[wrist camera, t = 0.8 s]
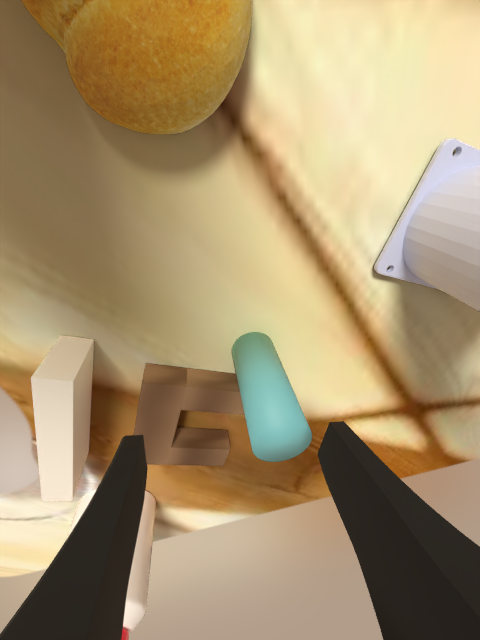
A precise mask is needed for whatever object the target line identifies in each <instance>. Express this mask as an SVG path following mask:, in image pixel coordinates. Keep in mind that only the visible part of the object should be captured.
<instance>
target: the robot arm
mask: <svg viewBox="0 0 480 640" xmlns="http://www.w3.org/2000/svg"><path fill="white" fill-rule="evenodd" d="M455 148H456V152H455V154H454V155H453V151H454V149H455ZM388 266H390V268H389V269H388V270H387V268H388ZM374 270H375V271H376V272H377V273H379V274H381V275H385V276H389V277H393V278H397V279H401V280H404V281H408V282H412V283H416V284H420V285H424V286H428V287H431V288H435V289H439V290H442V291H443V292H445V293H447V294H449V295H451V296H452V297H454V298H456V299H458V300H460V301H461V302H463V303H465V304H467V305H469V306H470V307H472V308H474V309H476V310H478V311H479V312H480V150H479V149H476V148H474V147H472V146H470V145H468V144H466V143H464V142H462V141H459V140H457V139H454V138H448V139H445V140H444V141H443V142H441V144H440V145H439V147H438V149H437V150H436V152H435V154H434V156H433V158H432V160H431V162H430V163H429V165H428V167H427V169H426V171H425V173H424V174H423V176H422V178H421V180H420V182H419V184H418V186H417V187H416V189H415V191H414V193H413V195H412V197H411V199H410V200H409V202H408V204H407V206H406V208H405V210H404V212H403V213H402V215H401V217H400V219H399V221H398V223H397V224H396V226H395V228H394V230H393V232H392V234H391V236H390V237H389V239H388V241H387V243H386V245H385V247H384V249H383V250H382V252H381V254H380V256H379V258H378V260H377V261H376V263H375V266H374ZM386 270H387V271H386ZM318 457H319V460H320V464H321V467H322V471H323V474H324V477H325V480H326V483H327V485H328V488H329V490H330V492H331V495H332V497H333V500H334V502H335V504H336V506H337V509H338V511H339V514H340V516H341V518H342V521H343V523H344V525H345V528H346V530H347V533H348V535H349V537H350V540H351V542H352V544H353V547H354V550H355V552H356V554H357V557H358V560H359V563H360V566H361V569H362V572H363V575H364V578H365V581H366V584H367V587H368V590H369V593H370V597H371V599H372V603H373V606H374V609H375V612H376V616H377V619H378V622H379V625H380V629H381V632H382V636H383V639H384V640H480V547H479V546H478V545H477V544H475V543H474V542H473V541H471V540H470V539H469V538H468V537H466V536H465V535H464V534H463V533H461V532H460V531H459V530H457V529H456V528H455V527H454V526H453V525H451V524H450V523H449V522H448V521H446V520H445V519H444V518H443V517H442V516H441V515H439V514H438V513H437V512H436V511H435V510H433V509H432V508H431V507H430V506H429V505H428V504H427V503H425V502H424V501H423V500H422V499H421V498H420V497H419V496H418V495H417V494H415V493H414V492H413V491H412V490H411V489H410V488H409V487H408V486H407V485H406V484H405V483H404V482H403V481H402V480H401V479H400V478H398V477H397V476H396V475H395V474H394V473H393V472H392V471H391V470H390V469H389V468H388V467H387V466H386V465H385V464H384V463H383V462H382V461H381V460H380V459H379V458H378V457H377V456H376V455H375V454H374V453H373V451H372V450H371V449H370V448H369V447H368V446H367V445H366V444H365V443H364V442H363V441H362V440H361V439H360V438H359V437H358V436H357V435H356V434H355V433H354V432H353V431H352V430H351V429H350V427H349V426H348V425H347V424H346V423H345V422H344V421H342V422H330V423H329V425H328V428H327V431H326V433H325V436H324V438H323V441H322V443H321V446H320V449H319V451H318ZM146 478H147V462H146V454H145V446H144V438H143V435H132V436H125V437H123V438H122V440H121V442H120V445H119V447H118V449H117V451H116V453H115V456H114V458H113V460H112V462H111V464H110V466H109V468H108V470H107V472H106V473H105V475H104V477H103V479H102V481H101V483H100V485H99V486H98V488H97V490H96V492H95V493H94V495H93V497H92V499H91V501H90V502H89V504H88V506H87V508H86V509H85V511H84V513H83V514H82V516H81V517H80V519H79V521H78V522H77V524H76V525H75V527H74V529H73V530H72V532H71V534H70V535H69V537H68V538H67V540H66V542H65V543H64V545H63V546H62V548H61V549H60V551H59V552H58V554H57V555H56V557H55V558H54V560H53V561H52V563H51V564H50V566H49V567H48V569H47V570H46V572H45V573H44V575H43V576H42V577H41V579H40V580H39V582H38V583H37V585H36V586H35V587H34V589H33V590H32V592H31V593H30V594H29V596H28V597H27V598H26V600H25V601H24V603H23V604H22V605H21V607H20V608H19V609H18V611H17V612H16V614H15V615H14V616H13V618H12V619H11V620H10V622H9V623H8V624H7V626H6V627H5V628H4V630H3V631H2V633H1V634H0V640H121V638H122V630H123V621H124V613H125V604H126V596H127V590H128V583H129V577H130V572H131V567H132V562H133V557H134V551H135V546H136V541H137V536H138V531H139V525H140V520H141V515H142V510H143V504H144V498H145V488H146Z"/></svg>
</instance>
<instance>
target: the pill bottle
mask: <svg viewBox="0 0 480 640" xmlns="http://www.w3.org/2000/svg"><path fill="white" fill-rule="evenodd" d="M96 490H97V489H96ZM96 490H93V491H91V492H89V493H87V494H86V495H84V496H83V497H82V498H81V499H80V500H79V502H78V504H77V507H76V510H75V513H74V517H73V520H72V523H71V526H70V529H69V532H68V536H67V538H68V537H69V535H70V534H71V532H72V530H73V529H74V527H75V525H76V524H77V522H78V521H79V519H80V517H81V516H82V514H83V513H84V511H85V509H86V508H87V506H88V504H89V502H90V501H91V499H92V497H93V495H94V493H95V492H96ZM155 510H156V500H155V498H154V496H153V495H152V494H150V493H149V492H148V491H146V490H145V498H144V504H143V510H142V515H141V520H140V525H139V531H138V536H137V541H136V546H135V551H134V557H133V562H132V567H131V572H130V577H129V583H128V590H127V596H126V604H125V613H124V621H123V630H122V638H121V640H128V637H129V635H130V634H131V633H132V632H133V630H134V629H135V628H136V626H137V625H138V624H139V622H140V621H141V620H142V618H143V617H144V615H145V612H146V606H147V595H148V585H149V574H150V563H151V552H152V542H153V531H154V521H155ZM66 540H67V539H66Z"/></svg>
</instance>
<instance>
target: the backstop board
mask: <svg viewBox="0 0 480 640" xmlns="http://www.w3.org/2000/svg"><path fill="white" fill-rule="evenodd" d="M93 354H94V339H87V338H79V337H72V336H64V335H60V337H59V338H58V339H57V341H56V342H55V344H54V345H53V347H52V348H51V349H50V351H49V352H48V354H47V355H46V357H45V358H44V360H43V361H42V362H41V364H40V365H39V367H38V368H37V370H36V371H35V372H34V374H33V375H32V377H31V384H32V395H33V406H34V417H35V428H36V440H37V451H38V462H39V473H40V485H41V496H42V501H70V500H73V498H74V495H75V492H76V489H77V486H78V483H79V480H80V477H81V474H82V471H83V468H84V465H85V462H86V459H87V456H88V453H89V438H90V417H91V396H92V375H93Z"/></svg>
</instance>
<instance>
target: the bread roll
mask: <svg viewBox="0 0 480 640" xmlns="http://www.w3.org/2000/svg"><path fill="white" fill-rule="evenodd" d="M21 1H22V3H23V4H24V5H25V7H26V8H27V10H28V11H29V13H30V14H31V15H32V16H33V17H34V19H35V20H36V21H37V22H38V23H39V24H40V26H41V27H42V28H43V29H44V30H45V31H46V32H47V33H48V34H49V35H50V36H51V37H52V38H53V39H54V40H56V42H57V43H58V44H59V46H60V47H61V48H62V50H63V51H64V53H65V54H66V62H67V65H68V69H69V72H70V75H71V78H72V80H73V82H74V85H75V87H76V88H77V90H78V91H79V93H80V94H81V96H82V97H83V99H84V100H85V101H86V103H87V104H88V105H89V106H90V107H91V108H92V109H93V110H94V111H96V112H97V113H98V114H100V115H101V116H102V117H103V118H105V119H107V120H108V121H110V122H113V123H115V124H118V125H120V126H122V127H125V128H128V129H131V130H134V131H137V132H142V133H150V134H176V133H182V132H185V131H187V130H190V129H192V128H193V127H195V126H197V125H199V124H200V123H202V122H203V121H204V120H205V119H207V118H208V117H209V116H210V115H212V114H213V113H214V112H215V111H216V109H217V108H218V107H219V106H220V104H221V103H222V102H223V101H224V99H225V97H226V96H227V94H228V93H229V91H230V89H231V88H232V86H233V83H234V81H235V79H236V77H237V75H238V73H239V71H240V68H241V66H242V63H243V60H244V57H245V53H246V49H247V44H248V40H249V34H250V28H251V21H252V0H21Z"/></svg>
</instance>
